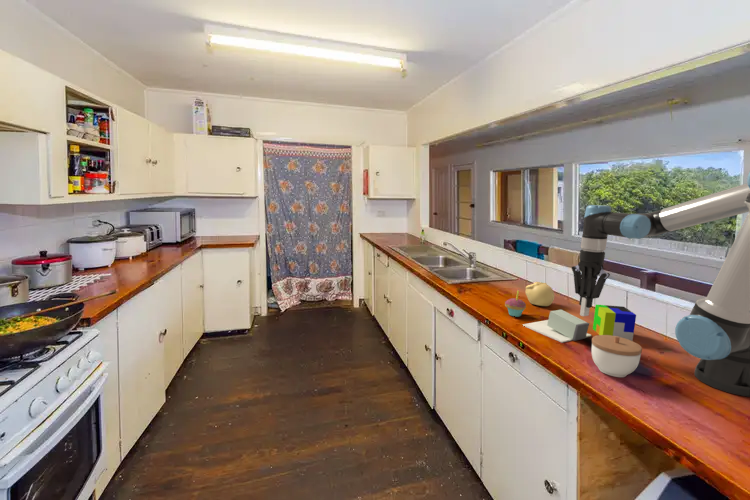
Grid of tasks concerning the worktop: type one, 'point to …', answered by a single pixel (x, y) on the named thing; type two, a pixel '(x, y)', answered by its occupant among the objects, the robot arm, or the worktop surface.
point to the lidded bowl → (615, 355)
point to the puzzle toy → (614, 321)
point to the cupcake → (515, 306)
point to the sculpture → (540, 294)
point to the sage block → (568, 324)
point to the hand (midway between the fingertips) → (584, 315)
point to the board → (548, 331)
